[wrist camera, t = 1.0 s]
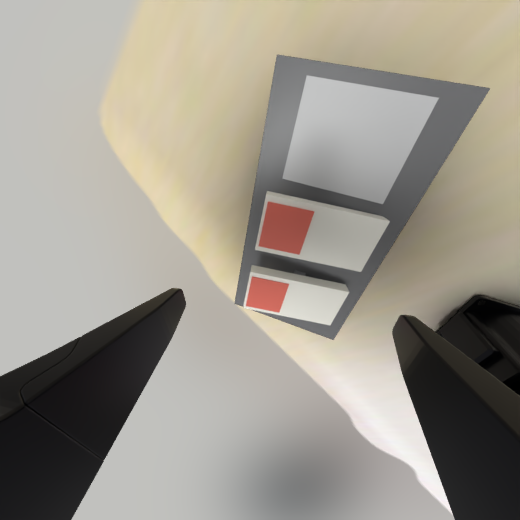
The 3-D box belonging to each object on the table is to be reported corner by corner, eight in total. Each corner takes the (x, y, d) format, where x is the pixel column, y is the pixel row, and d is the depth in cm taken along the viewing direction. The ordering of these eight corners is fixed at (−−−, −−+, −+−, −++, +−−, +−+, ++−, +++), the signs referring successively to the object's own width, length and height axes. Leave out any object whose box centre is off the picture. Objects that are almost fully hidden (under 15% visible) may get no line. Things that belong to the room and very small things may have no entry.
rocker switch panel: (455, 101, 12) (502, 83, 9) (332, 319, 22) (333, 346, 19) (285, 72, 14) (273, 48, 11) (244, 287, 24) (231, 308, 21)
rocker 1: (382, 216, 13) (390, 221, 12) (356, 264, 15) (361, 272, 14) (266, 190, 13) (266, 194, 12) (256, 243, 15) (254, 250, 14)
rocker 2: (345, 284, 16) (349, 293, 15) (327, 316, 18) (330, 326, 17) (251, 264, 16) (250, 272, 15) (244, 300, 18) (242, 308, 17)
